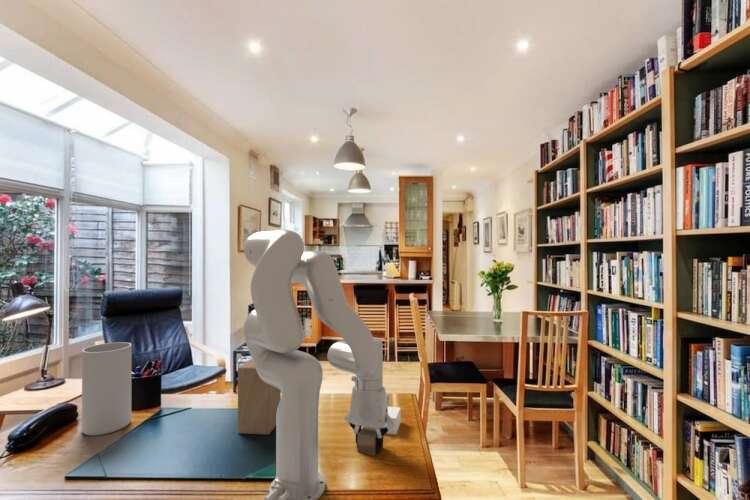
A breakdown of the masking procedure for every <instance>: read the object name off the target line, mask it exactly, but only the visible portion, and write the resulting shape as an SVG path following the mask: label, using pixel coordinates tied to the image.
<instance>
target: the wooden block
mask: <svg viewBox="0 0 750 500" xmlns="http://www.w3.org/2000/svg"><path fill="white" fill-rule="evenodd" d="M281 396H282V392H281V390H279V389H277V388H275V387H273V386H271V385H269V384H267V383H265V382H264V381H263V380H262V379H261V378H260V376H259V375H258V373H257V371H256V368H255V365H254V363H253V360H252V358H251V359H249V360H248V361H246V362H245V363H243V364H242V365H240V366H238V369H237V433H238V434H245V435H246V434H248V435H264V436H266V435H267V436H268V435H270V434H271V433H272V431H273V430H274V429H276V428H275V427H276V413H277V408H278V405H279V402H280V400H281Z"/></svg>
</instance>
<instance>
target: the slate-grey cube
mask: <svg viewBox="0 0 750 500" xmlns="http://www.w3.org/2000/svg"><path fill="white" fill-rule="evenodd" d="M386 396H387V404H388V406H390V394H389V393H386Z"/></svg>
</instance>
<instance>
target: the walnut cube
mask: <svg viewBox="0 0 750 500" xmlns="http://www.w3.org/2000/svg"><path fill="white" fill-rule="evenodd" d="M376 438H377V432H376V429H375V428H369V427H364V426H362V428H361V430H360V432H359V433H358V434H357V443H356V448H357V447H358V448H357V453H360V454H364V455H369V456H376V454H377V452H376Z"/></svg>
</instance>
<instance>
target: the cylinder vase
mask: <svg viewBox="0 0 750 500" xmlns="http://www.w3.org/2000/svg"><path fill="white" fill-rule="evenodd" d="M132 349H133V348H132V343H131V342H126V341H125V342H124V341H123V342H121V341H119V342H107V343H100V344H99V343H98V344H95V345H91V346H87V347H85V348H83V349H82V351H81V353H82V354H81V374H82V375H81V432H82V433H83V434H84V435H87V436H92V437H93V436H104V435H106V434H112V433H114V432H117V431H120V430H122V429H123V428H126V427H127V426H128V425H129V424H130V423H131V421H132V363H133V362H132V358H133V357H132V351H133V350H132Z"/></svg>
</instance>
